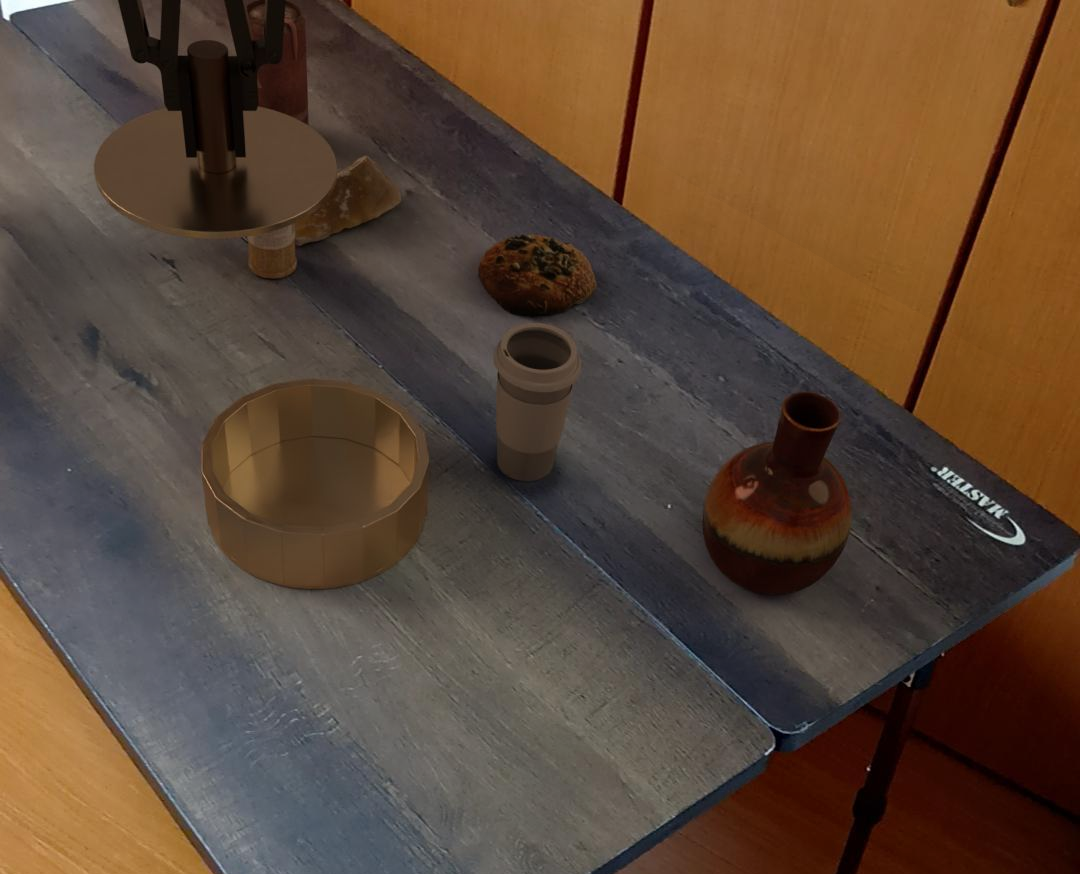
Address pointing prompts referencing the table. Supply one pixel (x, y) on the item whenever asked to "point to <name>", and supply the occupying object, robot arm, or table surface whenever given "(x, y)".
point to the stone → (350, 202)
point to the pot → (315, 483)
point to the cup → (532, 397)
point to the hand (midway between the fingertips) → (215, 146)
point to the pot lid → (215, 163)
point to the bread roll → (536, 275)
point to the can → (283, 64)
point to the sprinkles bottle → (273, 253)
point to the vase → (781, 504)
